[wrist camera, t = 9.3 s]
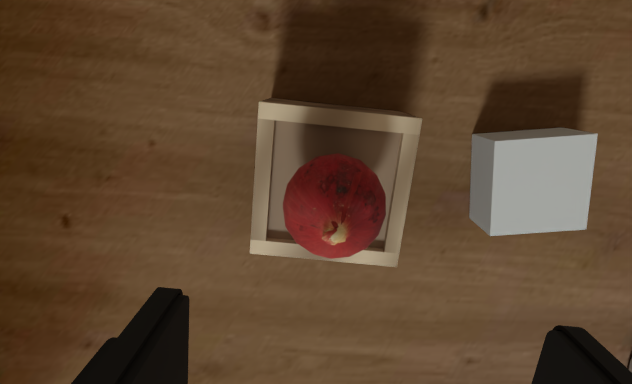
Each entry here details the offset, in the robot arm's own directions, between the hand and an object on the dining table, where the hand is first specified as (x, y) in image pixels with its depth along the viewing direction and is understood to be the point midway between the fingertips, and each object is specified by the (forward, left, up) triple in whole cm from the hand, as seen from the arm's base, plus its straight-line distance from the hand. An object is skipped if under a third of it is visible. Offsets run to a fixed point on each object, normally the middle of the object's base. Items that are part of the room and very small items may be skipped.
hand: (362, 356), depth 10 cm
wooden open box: (0, 0, -22) cm, 22 cm away
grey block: (-15, -1, -22) cm, 27 cm away
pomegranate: (0, 0, -16) cm, 16 cm away
